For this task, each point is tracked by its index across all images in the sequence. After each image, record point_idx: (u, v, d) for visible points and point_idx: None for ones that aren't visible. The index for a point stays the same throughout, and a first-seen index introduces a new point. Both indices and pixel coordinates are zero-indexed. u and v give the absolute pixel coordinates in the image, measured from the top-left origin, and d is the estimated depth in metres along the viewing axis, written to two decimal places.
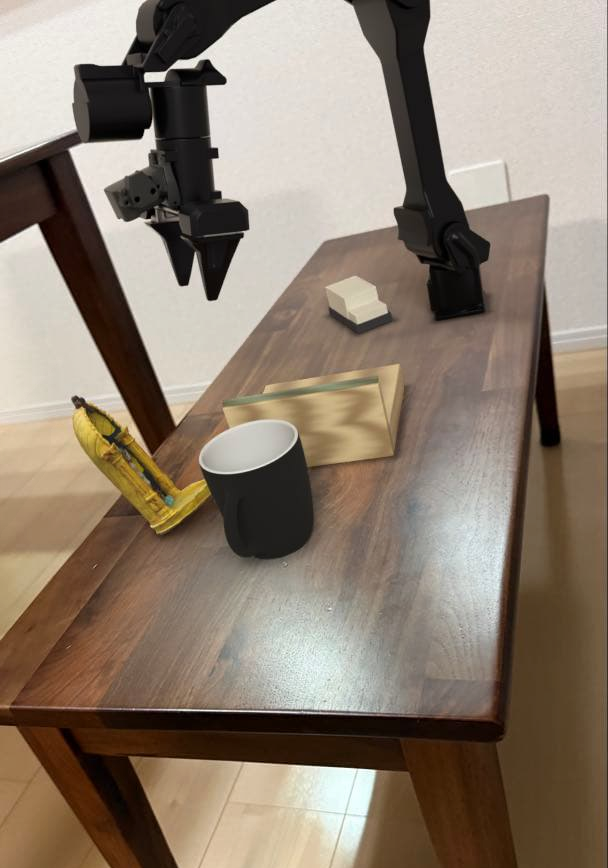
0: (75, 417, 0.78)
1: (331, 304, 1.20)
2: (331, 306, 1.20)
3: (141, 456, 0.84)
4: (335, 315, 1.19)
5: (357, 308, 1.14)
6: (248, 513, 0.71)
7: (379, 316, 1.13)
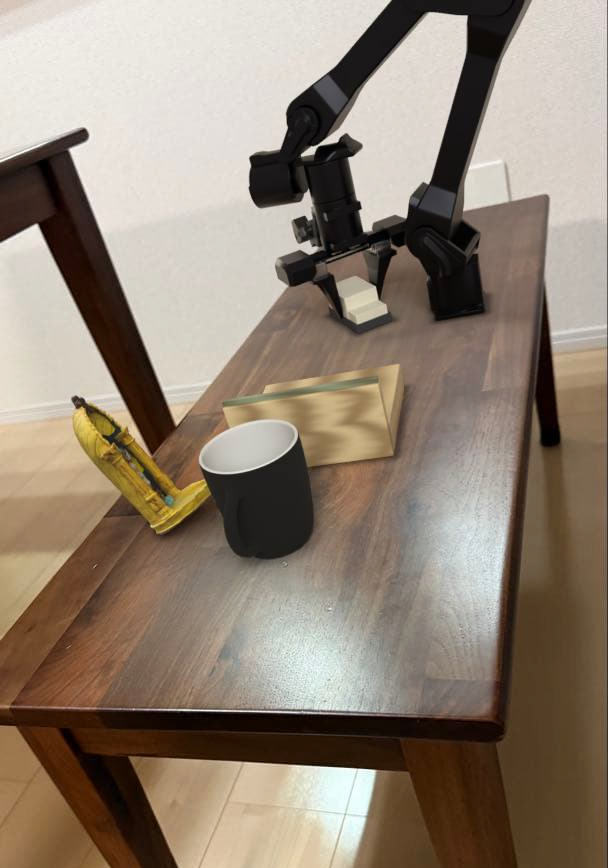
0: (75, 417, 0.78)
1: None
2: (331, 306, 1.20)
3: (141, 456, 0.84)
4: (335, 315, 1.19)
5: (357, 308, 1.14)
6: (248, 513, 0.71)
7: (379, 316, 1.13)
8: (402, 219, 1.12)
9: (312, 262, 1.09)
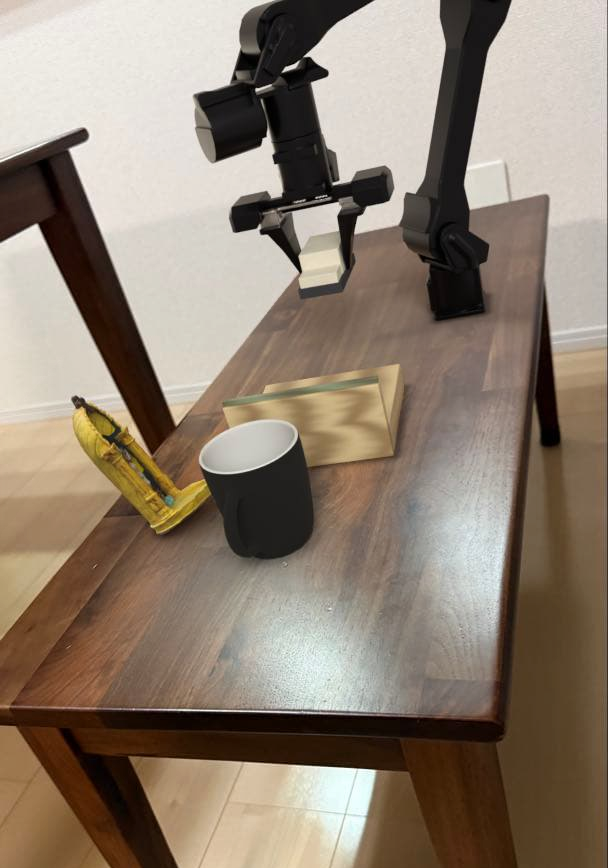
0: (75, 417, 0.78)
1: None
2: None
3: (141, 456, 0.84)
4: None
5: (312, 269, 0.99)
6: (248, 513, 0.71)
7: (327, 284, 0.97)
8: (377, 173, 0.93)
9: (256, 209, 0.96)
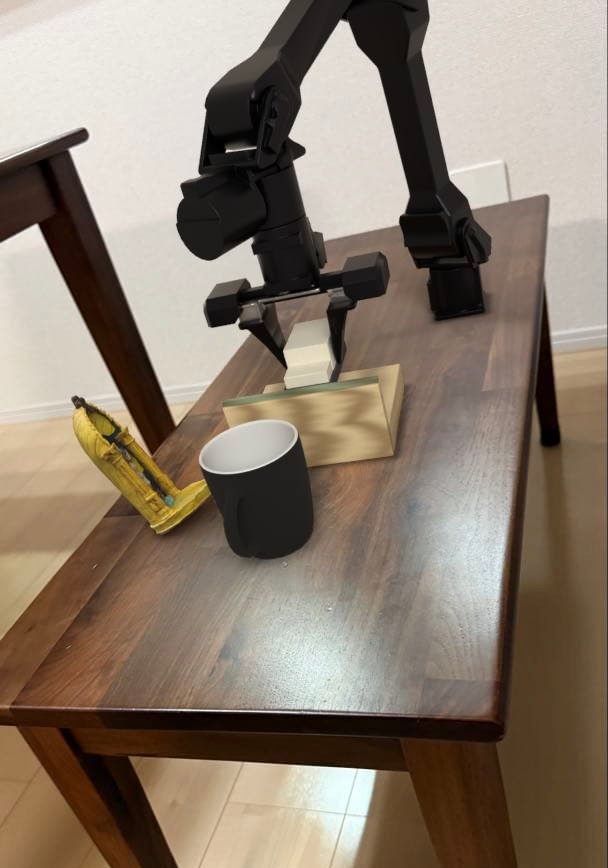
0: (75, 417, 0.78)
1: None
2: None
3: (141, 456, 0.84)
4: None
5: (299, 366, 0.88)
6: (248, 513, 0.71)
7: (316, 384, 0.86)
8: (371, 263, 0.82)
9: (234, 302, 0.85)
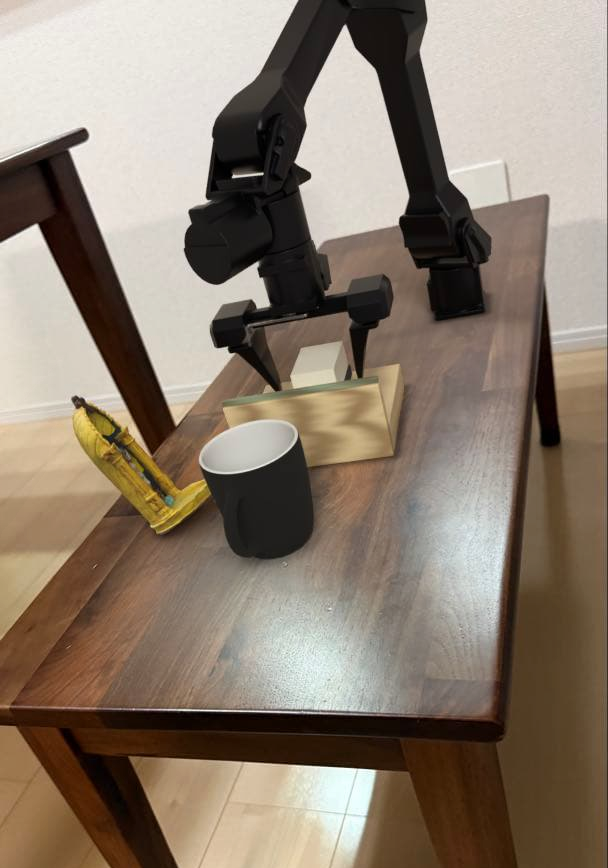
0: (75, 417, 0.78)
1: None
2: None
3: (141, 456, 0.84)
4: None
5: None
6: (248, 513, 0.71)
7: None
8: (375, 286, 0.83)
9: (240, 324, 0.86)
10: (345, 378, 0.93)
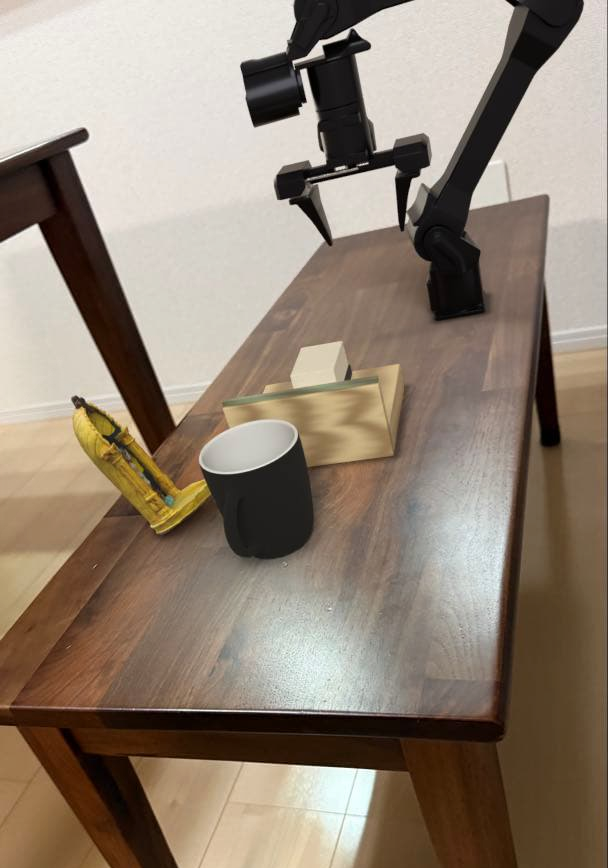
0: (75, 417, 0.78)
1: None
2: None
3: (141, 456, 0.84)
4: None
5: None
6: (248, 513, 0.71)
7: None
8: (418, 140, 0.97)
9: (301, 176, 1.00)
10: (345, 378, 0.93)
